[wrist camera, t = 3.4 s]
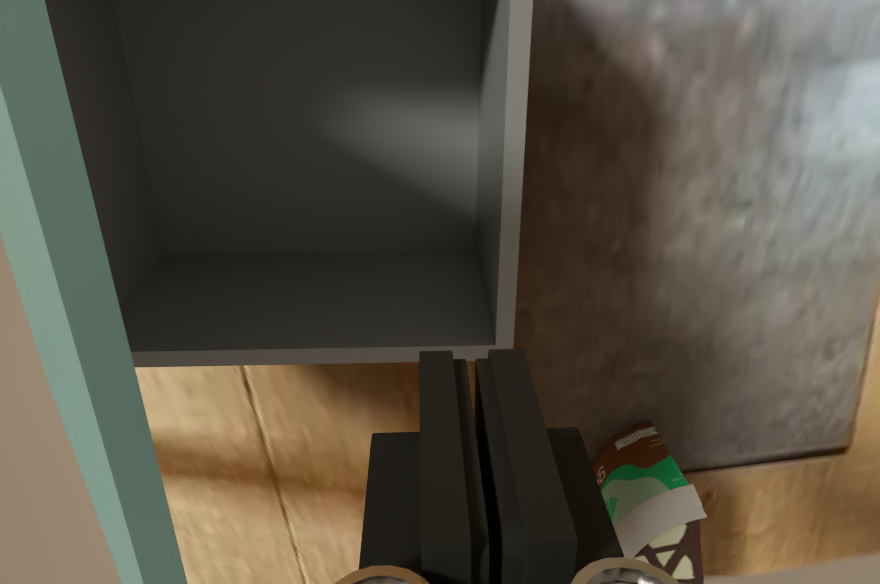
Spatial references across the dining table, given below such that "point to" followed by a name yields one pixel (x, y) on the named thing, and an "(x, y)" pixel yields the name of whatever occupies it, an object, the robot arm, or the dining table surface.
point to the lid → (76, 300)
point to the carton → (303, 173)
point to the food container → (651, 502)
